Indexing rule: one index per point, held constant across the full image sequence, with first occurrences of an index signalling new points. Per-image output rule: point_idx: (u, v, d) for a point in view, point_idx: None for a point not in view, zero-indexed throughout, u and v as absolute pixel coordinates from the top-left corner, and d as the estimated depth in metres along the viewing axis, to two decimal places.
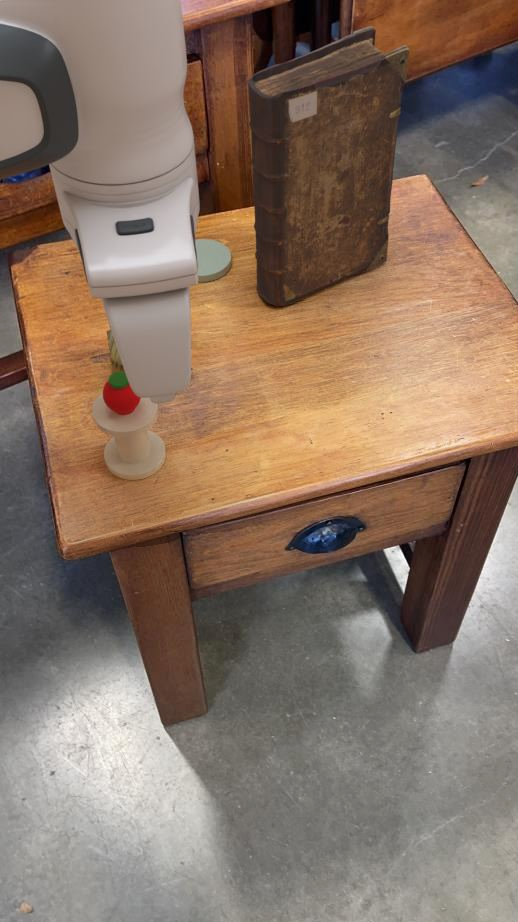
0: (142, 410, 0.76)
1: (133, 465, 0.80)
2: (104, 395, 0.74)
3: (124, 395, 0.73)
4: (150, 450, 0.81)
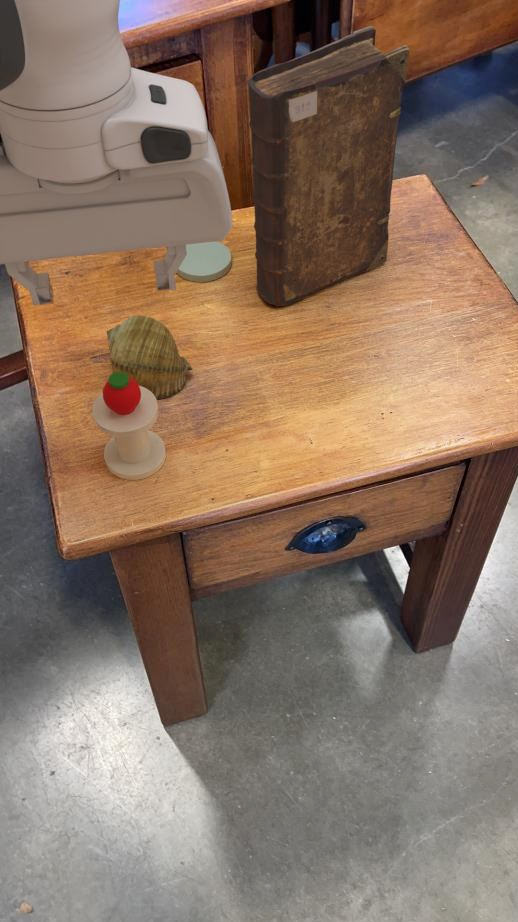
0: (142, 410, 0.76)
1: (133, 465, 0.80)
2: (104, 395, 0.74)
3: (124, 395, 0.73)
4: (150, 450, 0.81)
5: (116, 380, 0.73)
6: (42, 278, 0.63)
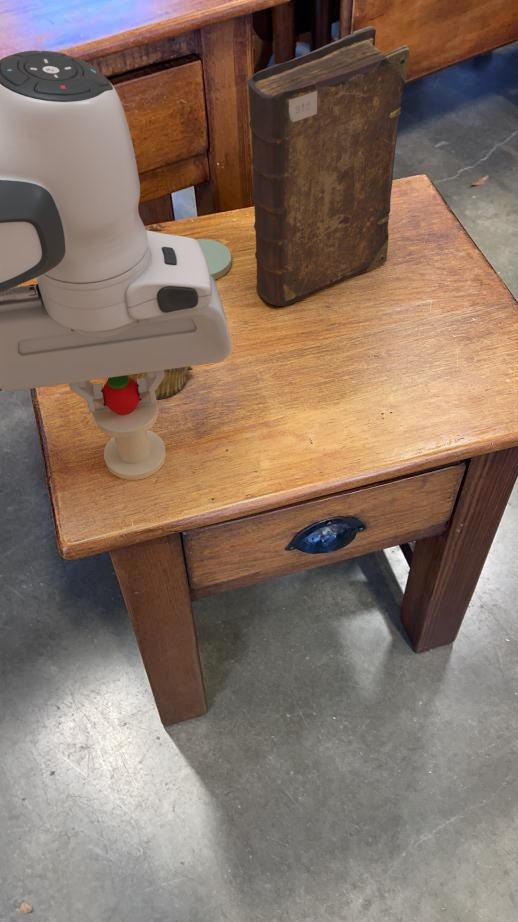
0: (142, 410, 0.76)
1: (133, 465, 0.80)
2: (103, 395, 0.74)
3: (123, 395, 0.73)
4: (150, 450, 0.81)
5: (115, 380, 0.73)
6: (97, 389, 0.74)
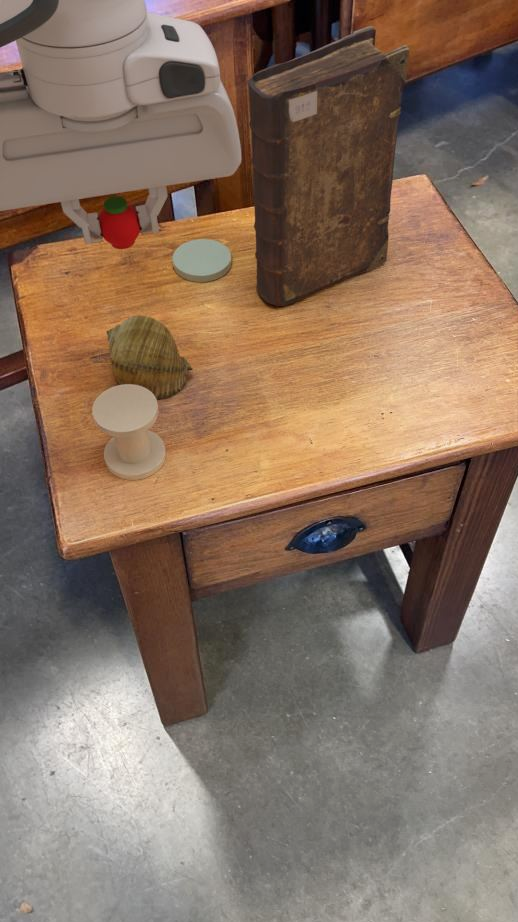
0: (142, 410, 0.76)
1: (133, 465, 0.80)
2: (100, 223, 0.66)
3: (122, 221, 0.66)
4: (150, 450, 0.81)
5: (113, 204, 0.65)
6: (92, 217, 0.66)
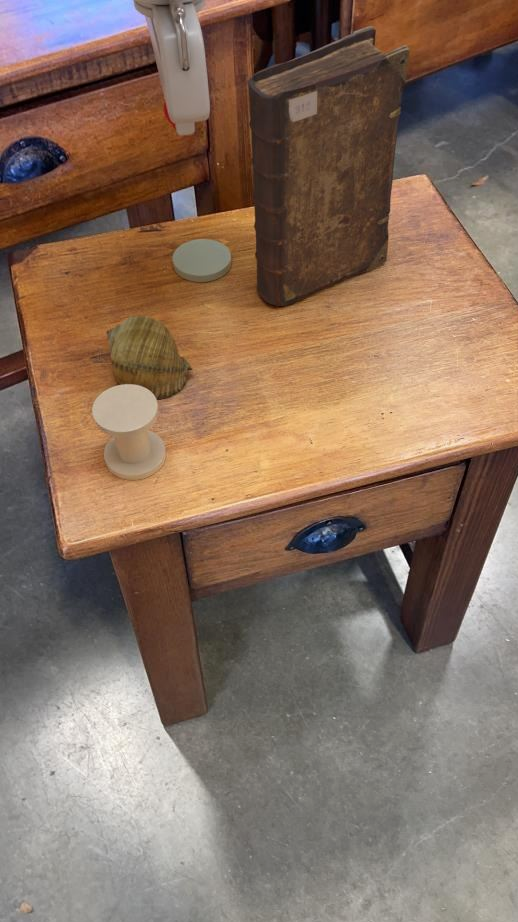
0: (142, 410, 0.76)
1: (133, 465, 0.80)
2: None
3: None
4: (150, 450, 0.81)
5: None
6: None
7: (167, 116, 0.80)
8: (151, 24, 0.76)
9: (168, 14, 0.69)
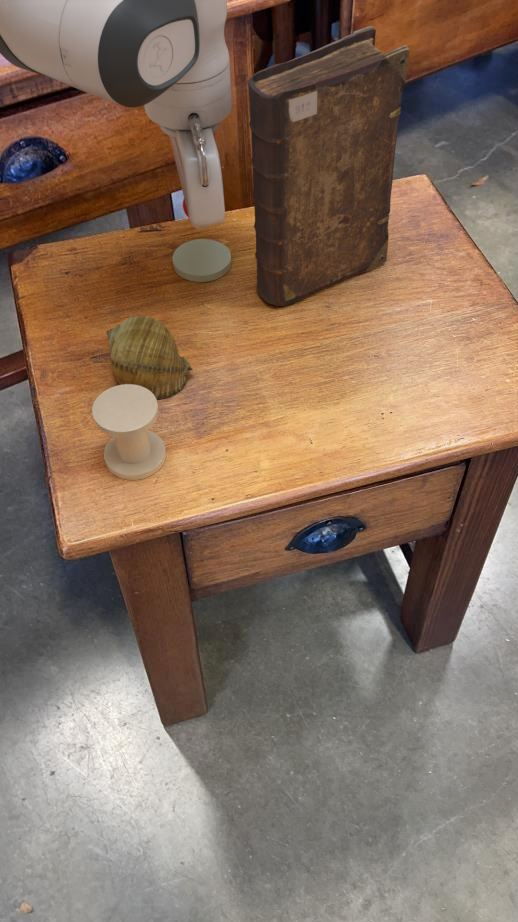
0: (142, 410, 0.76)
1: (133, 465, 0.80)
2: None
3: None
4: (150, 450, 0.81)
5: None
6: None
7: (186, 212, 0.93)
8: (173, 138, 0.88)
9: (190, 139, 0.81)
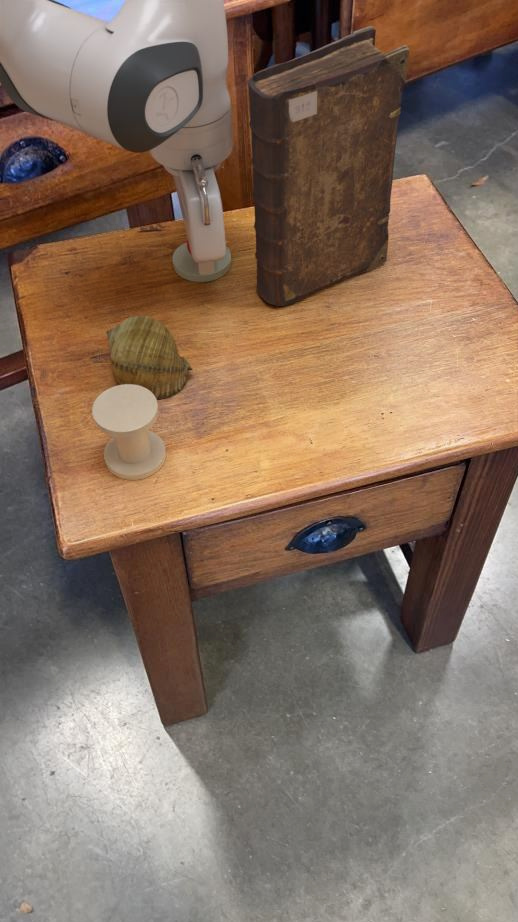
0: (142, 410, 0.76)
1: (133, 465, 0.80)
2: None
3: None
4: (150, 450, 0.81)
5: None
6: None
7: (190, 251, 0.97)
8: (176, 175, 0.91)
9: (193, 179, 0.84)
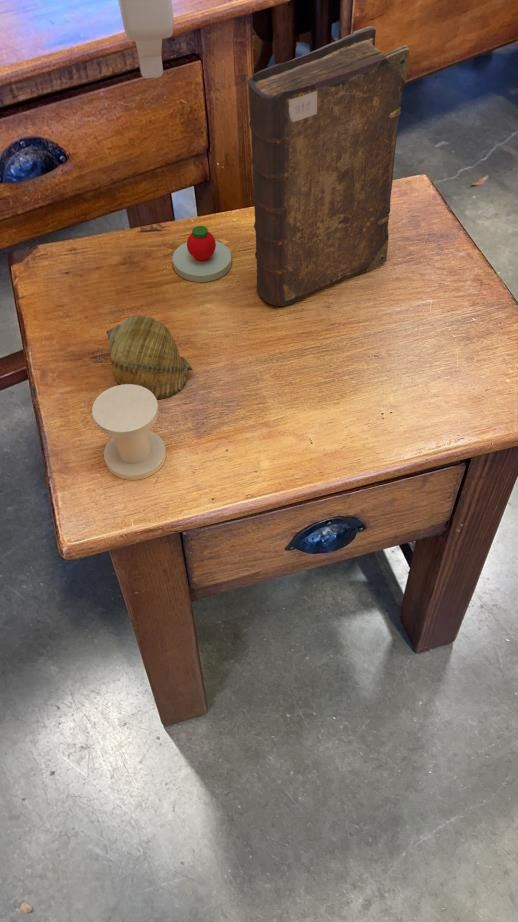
0: (142, 410, 0.76)
1: (133, 465, 0.80)
2: (206, 247, 0.96)
3: None
4: (150, 450, 0.81)
5: (201, 231, 0.96)
6: None
7: (190, 251, 0.97)
8: None
9: None
